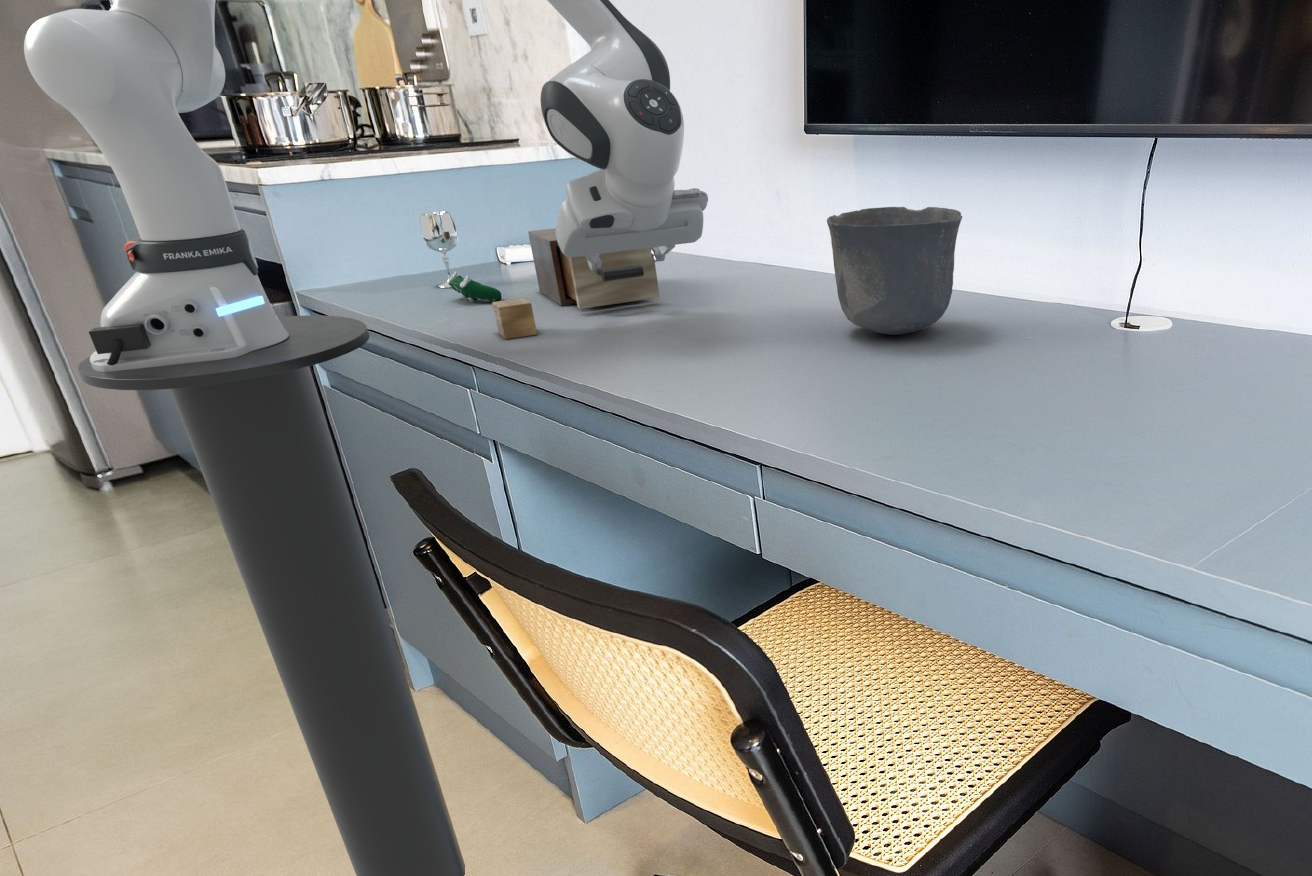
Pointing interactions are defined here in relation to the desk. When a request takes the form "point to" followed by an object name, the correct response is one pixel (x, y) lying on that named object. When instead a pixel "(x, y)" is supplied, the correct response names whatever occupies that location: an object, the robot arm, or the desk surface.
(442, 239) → the wineglass
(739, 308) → the desk surface
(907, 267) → the cup
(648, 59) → the robot arm
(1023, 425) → the desk surface
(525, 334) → the block
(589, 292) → the drawer
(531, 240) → the cabinet
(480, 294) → the green elongated toy
